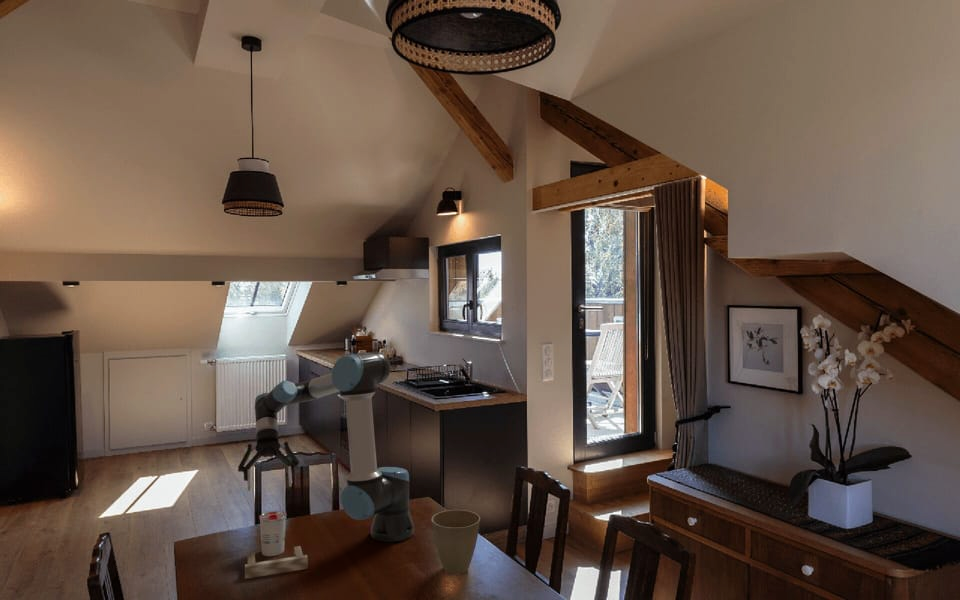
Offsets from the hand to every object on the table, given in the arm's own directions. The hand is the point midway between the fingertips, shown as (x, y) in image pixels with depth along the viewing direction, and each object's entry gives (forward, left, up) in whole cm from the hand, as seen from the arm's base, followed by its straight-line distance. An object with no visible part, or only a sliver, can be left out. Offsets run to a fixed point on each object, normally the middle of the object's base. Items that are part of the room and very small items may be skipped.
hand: (270, 486), depth 212 cm
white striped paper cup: (0, +11, -18) cm, 21 cm away
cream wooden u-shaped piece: (0, +22, -18) cm, 28 cm away
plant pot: (-51, +46, -18) cm, 71 cm away
